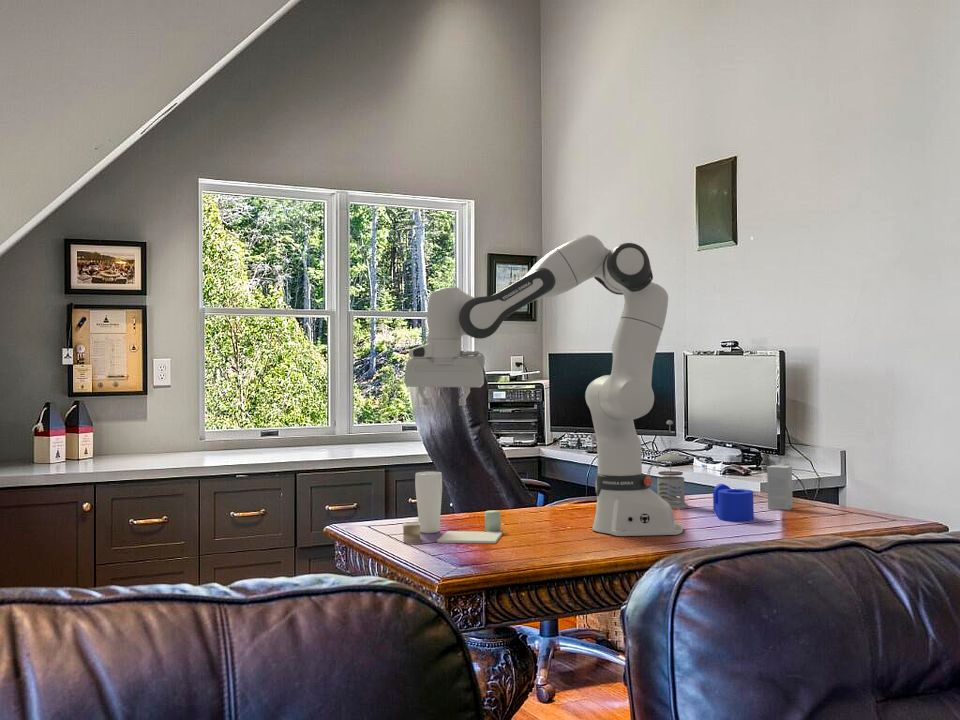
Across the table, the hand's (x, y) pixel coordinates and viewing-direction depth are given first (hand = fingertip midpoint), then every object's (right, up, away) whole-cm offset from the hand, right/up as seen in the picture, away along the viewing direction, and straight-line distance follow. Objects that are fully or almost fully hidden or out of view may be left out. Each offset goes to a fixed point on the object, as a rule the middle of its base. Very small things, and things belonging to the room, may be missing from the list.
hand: (444, 405), depth 243 cm
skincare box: (+94, -31, +27) cm, 103 cm away
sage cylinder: (+12, -32, -1) cm, 34 cm away
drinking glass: (-4, -32, 0) cm, 33 cm away
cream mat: (+7, -32, -10) cm, 34 cm away
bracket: (+77, -31, +17) cm, 85 cm away
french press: (+64, -31, +36) cm, 80 cm away
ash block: (-7, -32, -11) cm, 35 cm away
